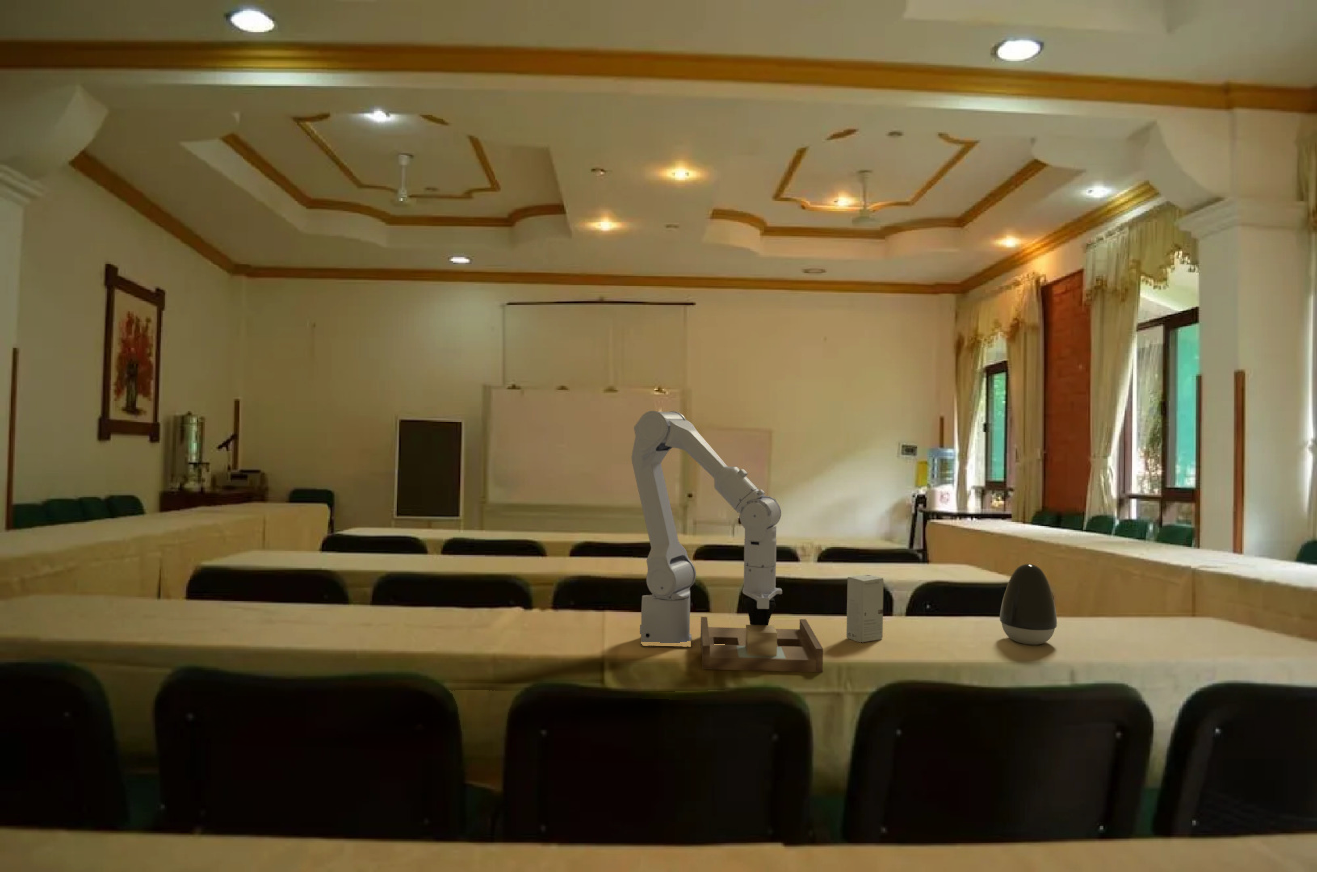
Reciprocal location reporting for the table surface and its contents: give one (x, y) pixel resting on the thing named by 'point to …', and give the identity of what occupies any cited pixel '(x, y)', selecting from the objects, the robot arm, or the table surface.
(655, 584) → the robot arm
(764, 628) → the maple block
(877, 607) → the skincare box
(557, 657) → the table surface
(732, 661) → the trap board
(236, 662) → the table surface
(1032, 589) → the two-tone egg figurine
